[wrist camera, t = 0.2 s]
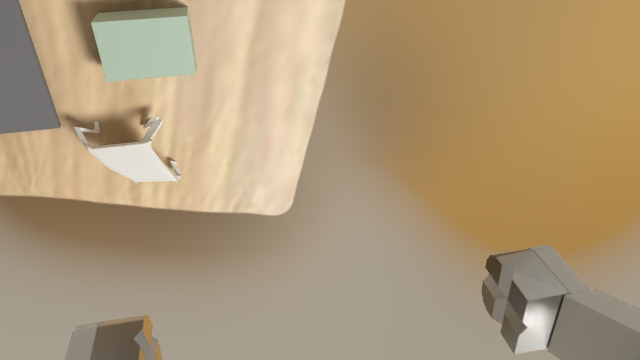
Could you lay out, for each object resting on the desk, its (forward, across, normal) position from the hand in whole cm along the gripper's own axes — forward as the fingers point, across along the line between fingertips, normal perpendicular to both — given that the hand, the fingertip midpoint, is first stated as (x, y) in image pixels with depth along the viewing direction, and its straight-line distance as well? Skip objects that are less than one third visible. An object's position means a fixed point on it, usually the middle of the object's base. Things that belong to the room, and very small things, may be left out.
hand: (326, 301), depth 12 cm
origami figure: (+48, +14, +18) cm, 53 cm away
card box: (+48, +10, +7) cm, 49 cm away
